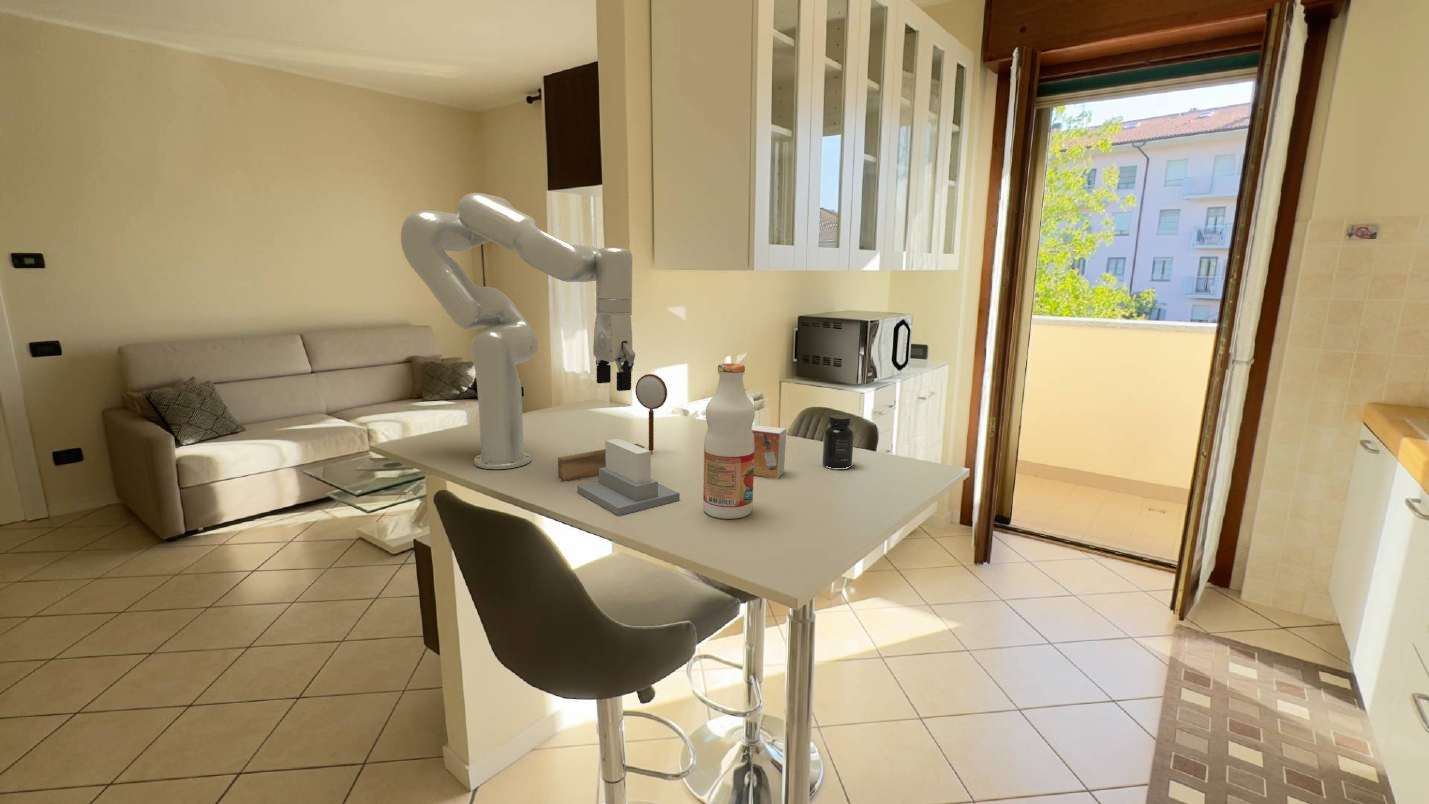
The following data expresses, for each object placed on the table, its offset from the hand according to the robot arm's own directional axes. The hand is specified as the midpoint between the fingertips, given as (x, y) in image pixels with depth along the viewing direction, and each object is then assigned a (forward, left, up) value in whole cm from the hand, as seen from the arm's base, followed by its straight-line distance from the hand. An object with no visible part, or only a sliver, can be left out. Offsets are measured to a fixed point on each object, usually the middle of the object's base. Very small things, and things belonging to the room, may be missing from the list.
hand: (613, 386), depth 141 cm
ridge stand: (+15, -6, -20) cm, 25 cm away
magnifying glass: (-8, +15, -20) cm, 26 cm away
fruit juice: (+33, +5, -20) cm, 39 cm away
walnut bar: (-2, -2, -20) cm, 20 cm away
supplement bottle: (+26, +45, -20) cm, 56 cm away
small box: (+20, +27, -20) cm, 39 cm away
